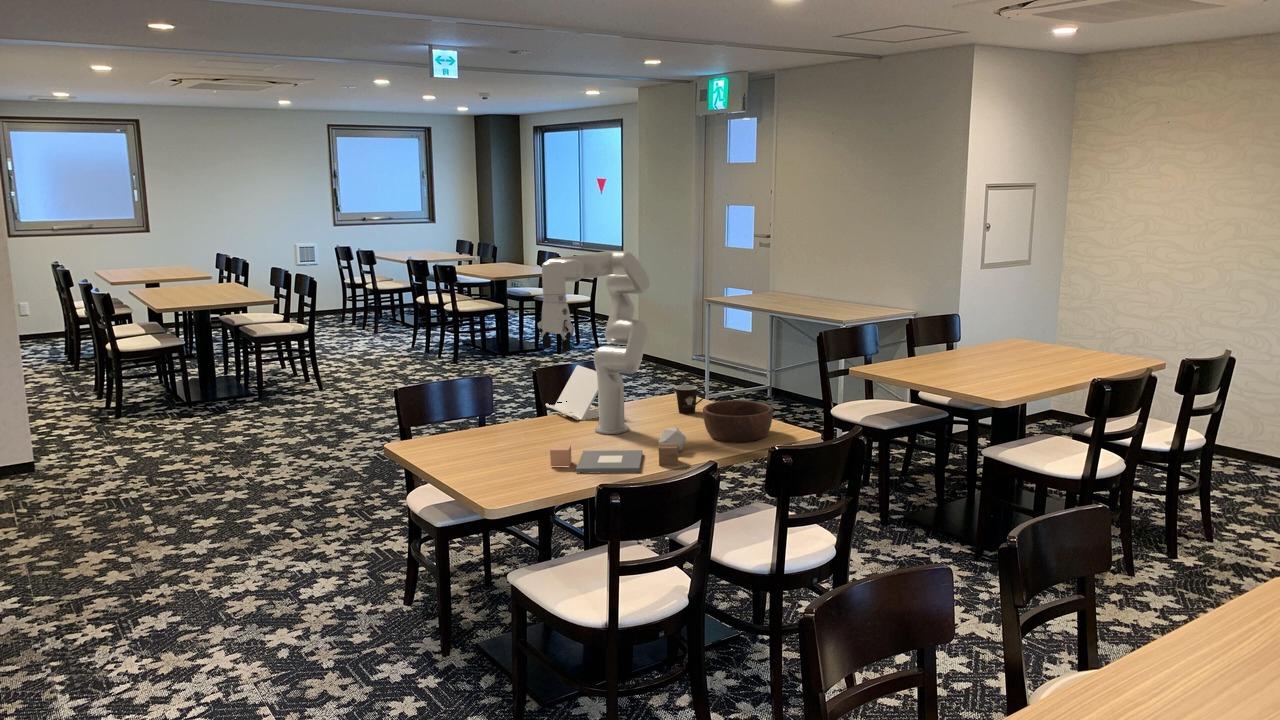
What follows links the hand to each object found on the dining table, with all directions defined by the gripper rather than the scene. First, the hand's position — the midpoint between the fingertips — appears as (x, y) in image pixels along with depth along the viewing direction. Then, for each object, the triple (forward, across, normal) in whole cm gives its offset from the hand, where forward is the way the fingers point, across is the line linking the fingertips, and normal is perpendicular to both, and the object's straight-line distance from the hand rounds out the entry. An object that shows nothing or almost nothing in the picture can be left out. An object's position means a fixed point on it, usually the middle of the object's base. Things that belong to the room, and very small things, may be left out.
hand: (556, 349), depth 316 cm
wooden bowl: (+36, -34, -54) cm, 73 cm away
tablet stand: (+36, +37, -43) cm, 67 cm away
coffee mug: (+36, +1, -70) cm, 79 cm away
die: (+36, -29, -25) cm, 52 cm away
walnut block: (+36, -37, -14) cm, 53 cm away
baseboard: (+36, -23, -1) cm, 42 cm away
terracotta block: (+36, -11, +10) cm, 39 cm away
